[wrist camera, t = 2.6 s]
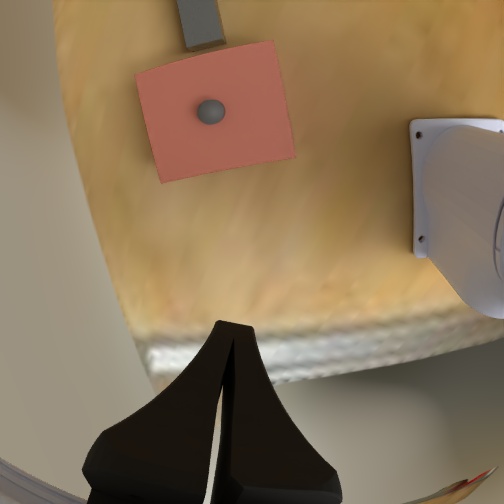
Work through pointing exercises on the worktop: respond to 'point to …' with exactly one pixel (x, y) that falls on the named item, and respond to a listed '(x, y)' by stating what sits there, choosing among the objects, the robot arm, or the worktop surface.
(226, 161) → the lock
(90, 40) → the worktop surface
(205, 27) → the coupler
